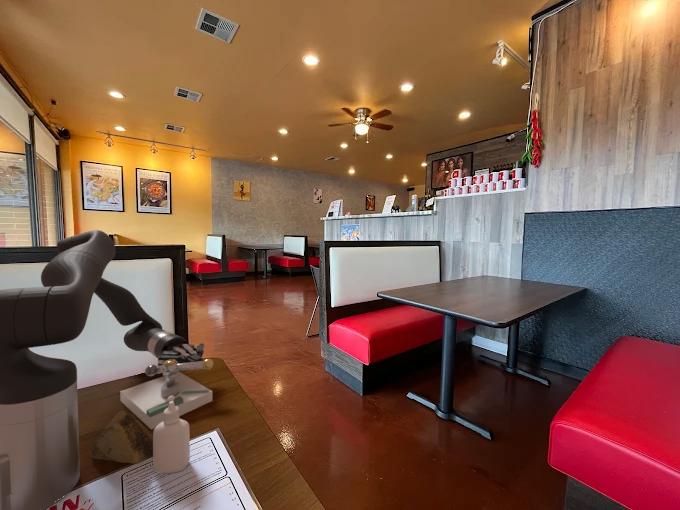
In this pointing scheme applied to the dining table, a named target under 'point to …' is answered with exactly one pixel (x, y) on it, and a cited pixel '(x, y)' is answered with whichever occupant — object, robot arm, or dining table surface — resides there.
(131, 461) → the rock
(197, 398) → the stand
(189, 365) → the crank handle
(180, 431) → the eye dropper bottle
